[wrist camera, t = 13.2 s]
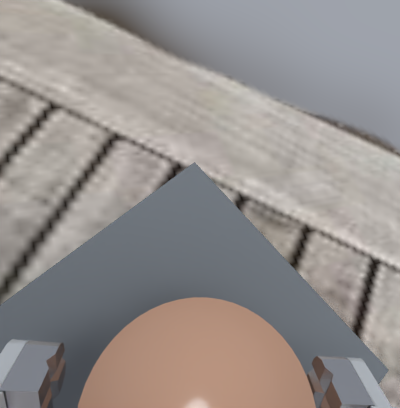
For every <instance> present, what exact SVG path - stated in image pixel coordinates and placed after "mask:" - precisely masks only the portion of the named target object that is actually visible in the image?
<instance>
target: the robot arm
mask: <svg viewBox="0 0 400 408" xmlns="http://www.w3.org/2000/svg"><path fill="white" fill-rule="evenodd" d="M64 351H65V349H64V343H57V342H45V341H32V340H17V339H12V340H11V341H9V342H8V343H7V344H6V346H5V347H4V349H3V350H2V352H1V353H0V408H53V401H52V400H53V399H55V398H56V397H57V396H58V395H59V393H60V391H61V388H62V385H63V381H64V377H65V371H66V361H65V360H64V359H63V358H62V356H63V354H64ZM312 366H313V368H314V369H313V370H311V371H310V372H308V374H307V378H308V381H309V384H310V387H311V390H312V393H313V397H314V402H315V406H316V408H397V407H392V406H391V405H390V403H389V401H388V400H387V398H386V396H385V395H384V393H383V391H382V390H381V388H380V386H379V385H378V383H377V381H376V380H375V378H374V377H373V375H372V373H371V372H370V370H369V368H368V367H367V365H366V363H365V362H364V361H363V360H362V359H361V358H348V357H331V356H316V357H315V358H314V359H313V361H312Z"/></svg>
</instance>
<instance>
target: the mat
mask: <svg viewBox="0 0 400 408" xmlns="http://www.w3.org/2000/svg"><path fill="white" fill-rule="evenodd" d="M192 297H207V298H215V299H221V300H225V301H228V302H232V303H235V304H237V305H240V306H242V307H244V308H247V309H249V310H250V311H252V312H254V313H255V314H257V315H259V316H260V317H261V318H263V319H264V320H265V321H266V322H268V323H269V324H270V325H271V326H272V327H273V328H274V329H275V330H276V331H277V332H278V333H279V334H280V335H281V336H282V337H283V338H284V339H285V341H286V342H287V343H288V344H289V346H290V347H291V348H292V350H293V351H294V353H295V355H296V356H297V358H298V360H299V361H300V363H301V365H302V367H303V370H304V372H305V374H306V376H307V374H308V372H310V371H311V370H313V369H314V368H313V366H312V361H313V359H314V358H315V357H316V356H331V357H348V358H361V359H362V360H363V361H364V362H365V363H366V365H367V367H368V368H369V370H370V372H371V373H372V375H373V377H374V378H375V380H376V381H377V383H378V384H379V383H380V381H381V380H382V379H383V377H384V376H385V375H386V373H387V372H388V369H387V368H386V367H385V365H384V364H383V363H382V362H381V361H380V360H379V359H378V358H377V357H376V356H375V355H374V354H373V353H372V352H371V351H370V349H369V348H368V347H367V346H366V345H365V344H364V343H363V342H362V341H361V340H360V339H359V338H358V337H357V336H356V334H355V333H354V332H353V331H352V330H351V329H350V328H349V327H348V326H347V325H346V324H345V323H344V322H343V321H342V319H341V318H340V317H339V316H338V315H337V314H336V313H335V312H334V311H333V310H332V309H331V308H330V307H329V306H328V304H327V303H326V302H325V301H324V300H323V299H322V298H321V297H320V296H319V295H318V294H317V293H316V292H315V291H314V289H313V288H312V287H311V286H310V285H309V284H308V283H307V282H306V281H305V280H304V279H303V278H302V277H301V276H300V275H299V273H298V272H297V271H296V270H295V269H294V268H293V267H292V266H291V265H290V264H289V263H288V262H287V261H286V260H285V258H284V257H283V256H282V255H281V254H280V253H279V252H278V251H277V250H276V249H275V248H274V247H273V246H272V245H271V243H270V242H269V241H268V240H267V239H266V238H265V237H264V236H263V235H262V234H261V233H260V232H259V231H258V230H257V228H256V227H255V226H254V225H253V224H252V223H251V222H250V221H249V220H248V219H247V218H246V217H245V216H244V215H243V213H242V212H241V211H240V210H239V209H238V208H237V207H236V206H235V205H234V204H233V203H232V202H231V201H230V200H229V199H228V197H227V196H226V195H225V194H224V193H223V192H222V191H221V190H220V189H219V188H218V187H217V186H216V185H215V184H214V182H213V181H212V180H211V179H210V178H209V177H208V176H207V175H206V174H205V173H204V172H203V171H202V170H201V169H200V167H199V166H198V165H197V164H196V163H195V162H194V163H193V164H192V165H190V166H189V167H187V168H186V169H185V170H183V171H182V172H181V173H179V174H178V175H177V176H175V177H174V178H172V179H171V180H170V181H168V182H167V183H166V184H164V185H163V186H162V187H160V188H159V189H158V190H156V191H155V192H153V193H152V194H151V195H149V196H148V197H147V198H145V199H144V200H143V201H141V202H140V203H138V204H137V205H136V206H134V207H133V208H132V209H130V210H129V211H128V212H126V213H125V214H124V215H122V216H121V217H119V218H118V219H117V220H115V221H114V222H113V223H111V224H110V225H109V226H107V227H106V228H104V229H103V230H102V231H100V232H99V233H98V234H96V235H95V236H94V237H92V238H91V239H90V240H88V241H87V242H85V243H84V244H83V245H81V246H80V247H79V248H77V249H76V250H75V251H73V252H72V253H70V254H69V255H68V256H66V257H65V258H64V259H62V260H61V261H60V262H58V263H57V264H56V265H54V266H53V267H51V268H50V269H49V270H47V271H46V272H45V273H43V274H42V275H41V276H39V277H38V278H36V279H35V280H34V281H32V282H31V283H30V284H28V285H27V286H26V287H24V288H23V289H22V290H20V291H19V292H17V293H16V294H15V295H13V296H12V297H11V298H9V299H8V300H7V301H5V302H4V303H2V304H1V305H0V353H1V352H2V350H3V349H4V347H5V346H6V344H7V343H8V342H9V341H11V340H12V339H17V340H32V341H45V342H57V343H64V349H65V351H64V354H63V356H62V358H63V359H64V360H65V361H66V371H65V377H64V381H63V385H62V388H61V391H60V393H59V395H58V396H57V397H56V398H55V399H53V400H52V401H53V408H78V404H79V400H80V397H81V395H82V392H83V389H84V386H85V383H86V381H87V379H88V377H89V375H90V373H91V371H92V369H93V367H94V365H95V363H96V362H97V360H98V359H99V357H100V355H101V354H102V352H103V351H104V350H105V348H106V347H107V346H108V345H109V343H110V342H111V341H112V340H113V338H114V337H115V336H116V335H117V334H118V333H119V332H120V331H121V330H122V329H123V328H124V327H126V326H127V325H128V324H129V323H131V322H132V321H133V320H135V319H136V318H137V317H139V316H140V315H142V314H144V313H145V312H147V311H149V310H151V309H153V308H155V307H157V306H160V305H162V304H164V303H168V302H171V301H175V300H178V299H185V298H192Z"/></svg>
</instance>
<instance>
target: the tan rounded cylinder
mask: <svg viewBox="0 0 400 408" xmlns="http://www.w3.org/2000/svg"><path fill="white" fill-rule="evenodd" d="M78 408H316V406H315V402H314V397H313V393H312V390H311V387H310V384H309V381H308V378H307V376H306V374H305V372H304V370H303V367H302V365H301V363H300V361H299V360H298V358H297V356H296V355H295V353H294V351H293V350H292V348H291V347H290V346H289V344H288V343H287V342H286V341H285V339H284V338H283V337H282V336H281V335H280V334H279V333H278V332H277V331H276V330H275V329H274V328H273V327H272V326H271V325H270V324H269V323H268V322H266V321H265V320H264V319H263V318H261V317H260V316H259V315H257V314H255V313H254V312H252V311H250V310H249V309H247V308H244V307H242V306H240V305H237V304H235V303H232V302H228V301H225V300H221V299H215V298H207V297H192V298H185V299H178V300H175V301H171V302H168V303H164V304H162V305H160V306H157V307H155V308H153V309H151V310H149V311H147V312H145V313H144V314H142V315H140V316H139V317H137V318H136V319H135V320H133V321H132V322H131V323H129V324H128V325H127V326H126V327H124V328H123V329H122V330H121V331H120V332H119V333H118V334H117V335H116V336H115V337H114V338H113V340H112V341H111V342H110V343H109V345H108V346H107V347H106V348H105V350H104V351H103V352H102V354H101V355H100V357H99V359H98V360H97V362H96V363H95V365H94V367H93V369H92V371H91V373H90V375H89V377H88V379H87V381H86V383H85V386H84V389H83V392H82V395H81V397H80V400H79V404H78Z"/></svg>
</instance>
